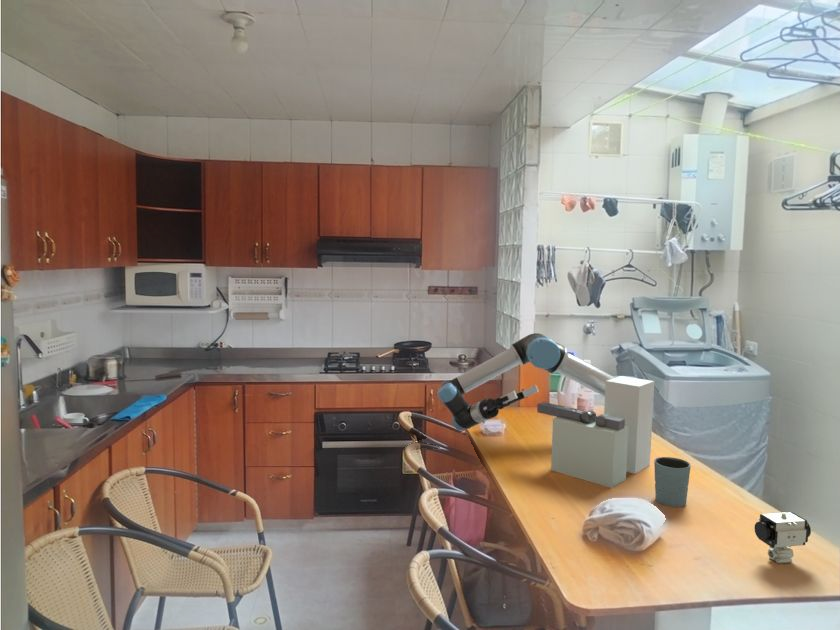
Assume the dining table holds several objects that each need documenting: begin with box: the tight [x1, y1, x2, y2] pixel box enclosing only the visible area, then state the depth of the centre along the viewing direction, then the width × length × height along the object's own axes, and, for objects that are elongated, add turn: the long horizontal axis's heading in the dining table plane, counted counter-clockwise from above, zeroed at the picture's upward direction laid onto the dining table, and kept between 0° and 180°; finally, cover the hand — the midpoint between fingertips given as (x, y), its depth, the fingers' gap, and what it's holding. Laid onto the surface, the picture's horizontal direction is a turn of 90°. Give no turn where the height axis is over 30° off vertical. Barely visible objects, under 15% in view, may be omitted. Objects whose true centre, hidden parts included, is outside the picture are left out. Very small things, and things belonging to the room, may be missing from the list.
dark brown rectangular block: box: [536, 401, 597, 424], centre depth 203 cm, size 20×5×3 cm, turn 46°
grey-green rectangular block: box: [550, 413, 629, 489], centre depth 198 cm, size 22×10×21 cm, turn 46°
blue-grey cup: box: [653, 456, 692, 508], centre depth 178 cm, size 10×10×12 cm
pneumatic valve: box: [754, 512, 812, 564], centre depth 144 cm, size 6×12×12 cm, turn 99°
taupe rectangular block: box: [603, 375, 655, 475], centre depth 207 cm, size 12×12×30 cm
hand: (526, 391), depth 214 cm, fingers open, 13 cm apart
